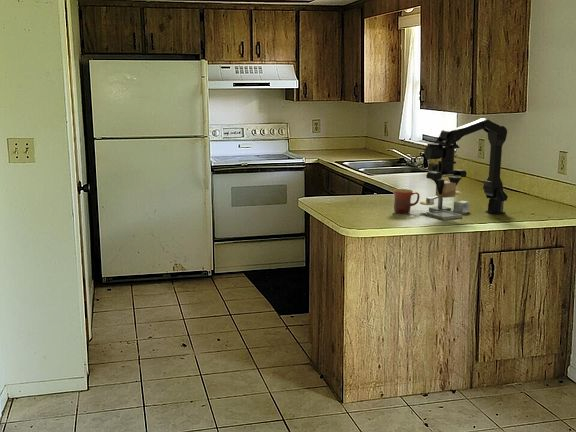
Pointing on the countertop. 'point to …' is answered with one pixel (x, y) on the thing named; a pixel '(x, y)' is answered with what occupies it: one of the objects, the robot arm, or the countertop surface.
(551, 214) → the countertop surface
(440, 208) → the balance
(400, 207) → the mug
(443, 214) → the slate dish
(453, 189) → the walnut block
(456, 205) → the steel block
